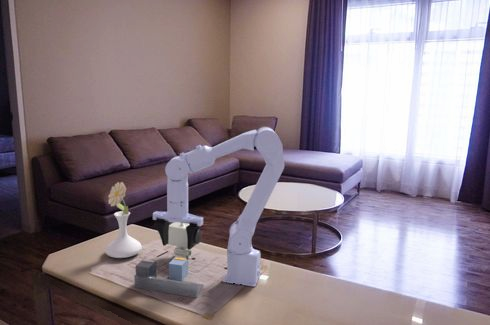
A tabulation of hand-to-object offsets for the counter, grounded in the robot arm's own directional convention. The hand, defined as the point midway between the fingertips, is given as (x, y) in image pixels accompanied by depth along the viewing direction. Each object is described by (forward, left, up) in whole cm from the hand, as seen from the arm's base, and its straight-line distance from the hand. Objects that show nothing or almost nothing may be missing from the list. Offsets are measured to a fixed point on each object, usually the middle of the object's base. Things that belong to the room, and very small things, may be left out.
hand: (177, 246), depth 101 cm
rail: (0, +6, -10) cm, 12 cm away
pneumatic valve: (+4, -13, -10) cm, 16 cm away
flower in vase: (+23, -9, -10) cm, 26 cm away
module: (0, 0, -10) cm, 10 cm away
